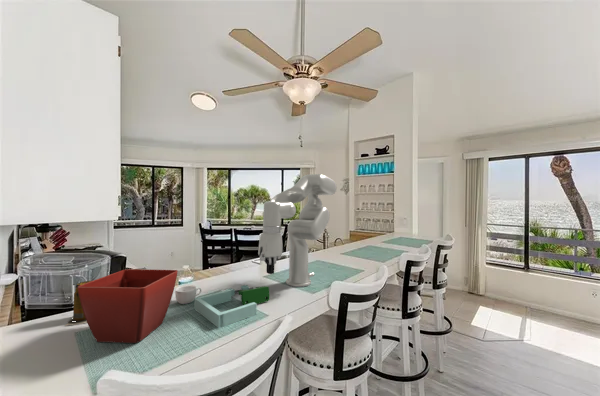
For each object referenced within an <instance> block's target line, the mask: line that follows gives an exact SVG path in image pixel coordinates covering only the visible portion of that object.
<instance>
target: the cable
mask: <svg viewBox="0 0 600 396" xmlns="http://www.w3.org/2000/svg"><path fill="white" fill-rule="evenodd" d="M249 289H254V287H249ZM240 290H242V289H241V288H240V289H239V288H238V289H235V293H234V294H237V293H238V294H239V291H240Z"/></svg>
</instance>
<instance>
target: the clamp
mask: <svg viewBox="0 0 600 396" xmlns="http://www.w3.org/2000/svg"><path fill="white" fill-rule="evenodd" d="M238 295H239V296H240V299H241V301H240V302H241V306H243V305H247V304H250V303H253V302H255V303H257V305H258V304H262V303H263V304H264V303H267V302H269V301H270V299H271V297H270V296H271V294H270V287H269V286H265V285H264V286H257V287H255V288H253V289H248V290H240V291H239V292H238Z"/></svg>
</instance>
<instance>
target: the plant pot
mask: <svg viewBox="0 0 600 396" xmlns="http://www.w3.org/2000/svg"><path fill="white" fill-rule="evenodd" d="M177 276H178V270H177V269H141V268H140V269H135V268H134V269H133V268H130V269H128V268H126V269H122V270H119V271H116V272H114V273H111V274H107V275H106V276H103V277H100V278H97V279H94V280H90V281H91V282H88V283H85V284H82V285H80V286H78V292H79V297H80V302H81V306H82V309H83V313H84V315H85V318H86V321H87V323H86V324H87V326H88V328H89V330H90V332H91V333H92V336H93V338H94V339H95V341H96V342H98V343H122V344H123V343H124V344H126V343H127V344H128V343H129V344H135V343H139V342H141V341H143V339H145V338H146V337H148V336H149V335H150V334H151V333H152V332H154V331H155V330H156V329H157V328H159V327H160V326H161V325H162V324H163V323H164V320H165V319H166V315H167V312H168V309H169V307H170V304H171V301H172V297H173V294H174V291H175V288H176V281H177V278H178V277H177Z"/></svg>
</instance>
